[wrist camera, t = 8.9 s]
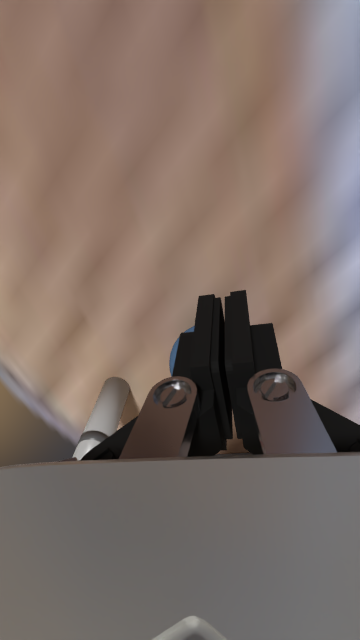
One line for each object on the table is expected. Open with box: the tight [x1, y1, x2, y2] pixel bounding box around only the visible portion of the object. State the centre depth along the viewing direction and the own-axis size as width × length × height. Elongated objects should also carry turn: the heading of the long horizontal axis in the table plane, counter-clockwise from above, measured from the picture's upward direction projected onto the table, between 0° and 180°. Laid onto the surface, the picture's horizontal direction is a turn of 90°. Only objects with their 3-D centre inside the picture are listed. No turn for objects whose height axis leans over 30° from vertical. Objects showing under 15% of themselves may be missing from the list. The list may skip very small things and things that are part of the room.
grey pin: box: [73, 377, 130, 460], centre depth 28 cm, size 2×2×8 cm
